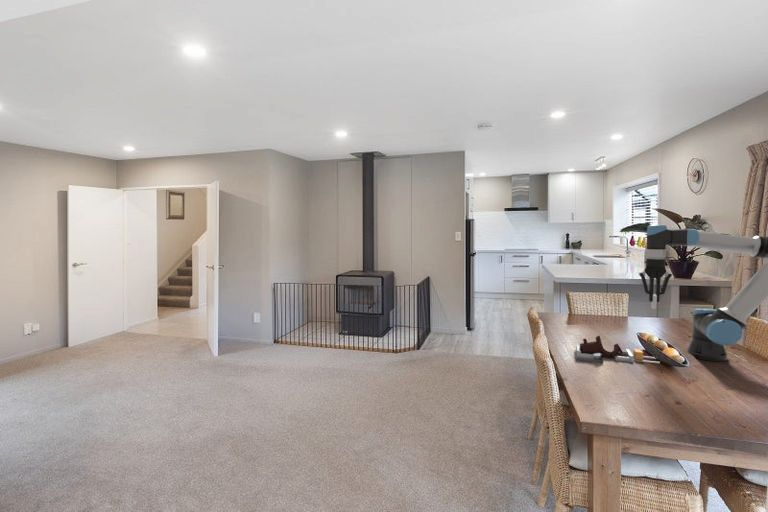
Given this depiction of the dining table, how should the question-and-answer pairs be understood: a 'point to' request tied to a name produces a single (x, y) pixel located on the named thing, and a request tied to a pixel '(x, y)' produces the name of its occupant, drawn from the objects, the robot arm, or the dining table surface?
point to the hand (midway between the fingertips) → (653, 308)
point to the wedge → (637, 354)
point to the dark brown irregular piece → (599, 348)
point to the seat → (628, 357)
